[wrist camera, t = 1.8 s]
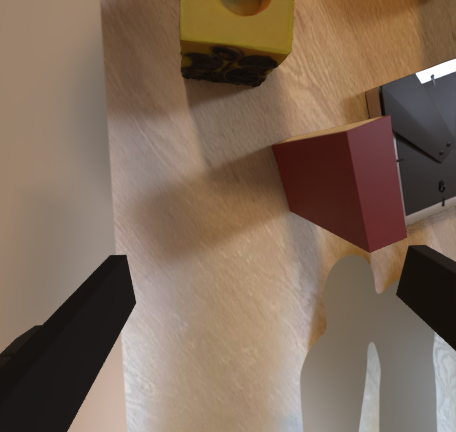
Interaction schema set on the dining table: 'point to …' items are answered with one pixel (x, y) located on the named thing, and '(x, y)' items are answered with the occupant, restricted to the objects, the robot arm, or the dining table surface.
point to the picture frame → (422, 137)
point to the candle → (234, 39)
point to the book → (346, 181)
